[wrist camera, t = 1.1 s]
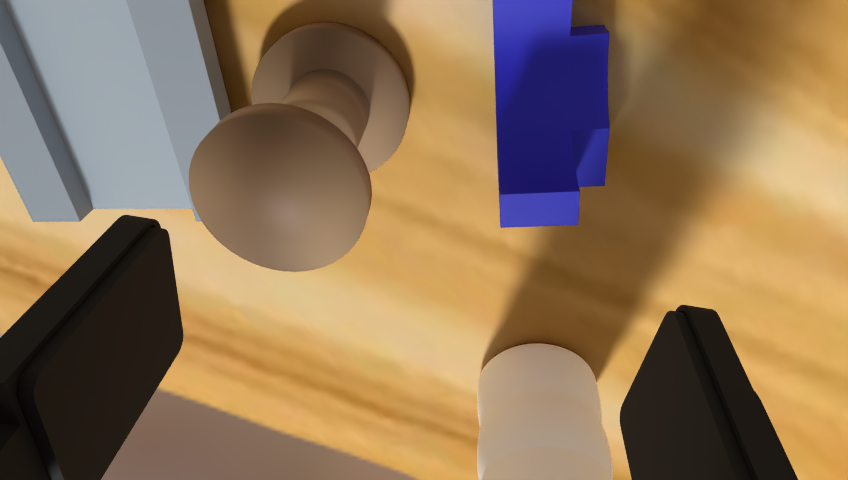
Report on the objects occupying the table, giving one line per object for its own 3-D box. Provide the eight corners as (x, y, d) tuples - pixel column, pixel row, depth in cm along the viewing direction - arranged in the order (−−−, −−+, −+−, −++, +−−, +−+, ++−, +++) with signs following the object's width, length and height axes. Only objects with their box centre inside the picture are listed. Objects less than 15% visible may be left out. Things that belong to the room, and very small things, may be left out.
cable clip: (593, 154, 28) (617, 223, 23) (497, 159, 28) (500, 227, 24) (614, -149, 21) (654, -144, 16) (488, -135, 22) (490, -127, 17)
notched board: (185, -123, 23) (156, -119, 21) (261, 196, 30) (246, 221, 28) (-78, -107, 24) (-129, -102, 22) (61, 197, 32) (33, 221, 30)
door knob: (404, 18, 25) (370, 96, 18) (414, 168, 29) (390, 283, 21) (243, 24, 26) (145, 102, 18) (274, 169, 30) (204, 281, 22)
